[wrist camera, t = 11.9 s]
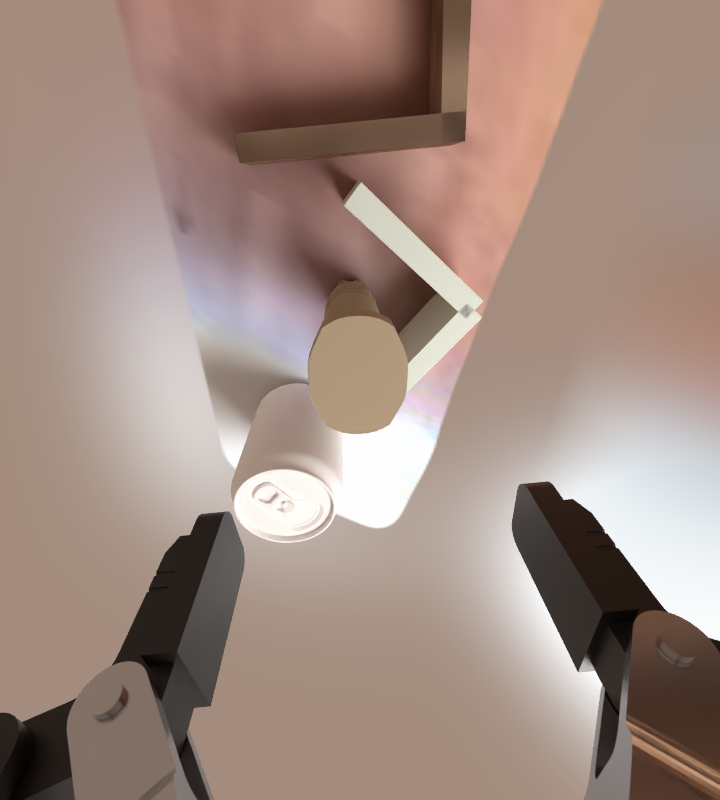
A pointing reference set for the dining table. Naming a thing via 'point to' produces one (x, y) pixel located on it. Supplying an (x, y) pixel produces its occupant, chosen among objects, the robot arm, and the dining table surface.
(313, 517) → the beverage can
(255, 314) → the dining table surface
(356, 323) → the handle
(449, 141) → the u-shaped bracket
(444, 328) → the cream l-shaped bracket
